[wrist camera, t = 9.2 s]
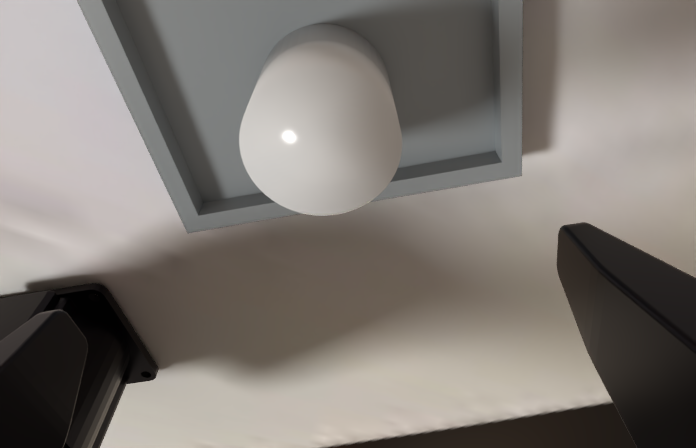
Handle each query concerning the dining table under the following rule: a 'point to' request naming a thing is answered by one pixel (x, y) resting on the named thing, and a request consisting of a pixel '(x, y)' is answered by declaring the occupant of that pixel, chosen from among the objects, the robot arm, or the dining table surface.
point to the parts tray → (246, 65)
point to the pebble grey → (321, 123)
